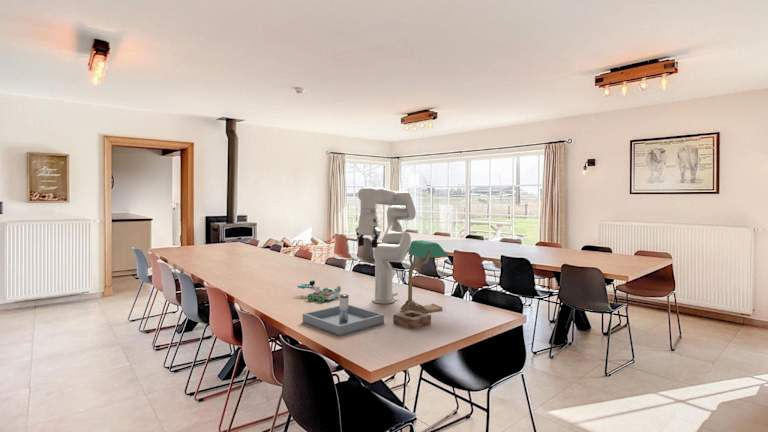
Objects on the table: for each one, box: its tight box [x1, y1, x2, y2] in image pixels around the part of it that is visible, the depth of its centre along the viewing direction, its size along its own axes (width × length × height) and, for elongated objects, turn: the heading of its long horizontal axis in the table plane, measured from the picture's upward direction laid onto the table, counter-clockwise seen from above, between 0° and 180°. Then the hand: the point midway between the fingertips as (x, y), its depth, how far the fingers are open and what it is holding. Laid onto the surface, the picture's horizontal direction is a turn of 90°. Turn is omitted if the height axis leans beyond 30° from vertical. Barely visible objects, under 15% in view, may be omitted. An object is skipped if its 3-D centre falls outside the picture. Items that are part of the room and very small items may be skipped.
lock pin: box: [338, 293, 349, 323], centre depth 192 cm, size 4×4×12 cm
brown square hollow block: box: [392, 310, 432, 330], centre depth 193 cm, size 12×12×4 cm
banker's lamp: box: [400, 240, 449, 314], centre depth 215 cm, size 16×21×35 cm
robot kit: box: [297, 279, 342, 303], centre depth 240 cm, size 19×25×9 cm
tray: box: [302, 303, 385, 337], centre depth 192 cm, size 26×26×4 cm
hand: (367, 246), depth 212 cm, fingers open, 9 cm apart
